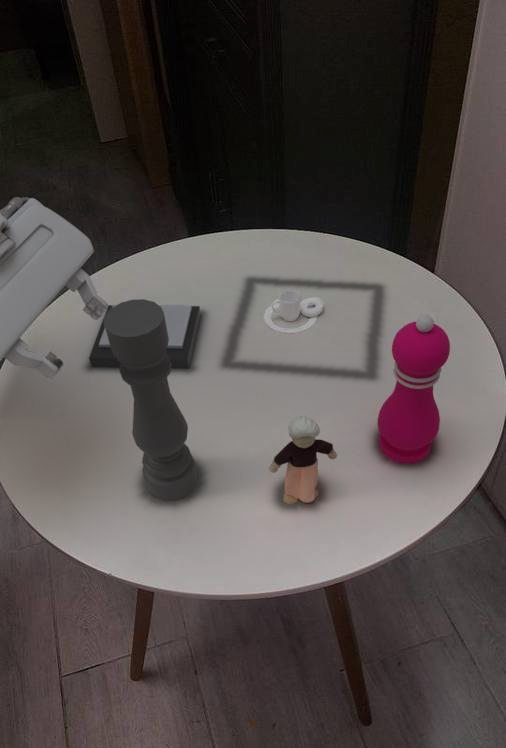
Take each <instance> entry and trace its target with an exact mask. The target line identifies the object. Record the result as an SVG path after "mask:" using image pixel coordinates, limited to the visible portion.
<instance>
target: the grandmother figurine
mask: <svg viewBox="0 0 506 748" xmlns="http://www.w3.org/2000/svg"><path fill="white" fill-rule="evenodd" d="M287 428H288V435H289V437H290V438H291V441H290V442H288V443H287V444H286V445H285V446H284V447H283V448H282V449H281V450H280V451H279V452H278V453H277V454H276V455H275V456H274V458H273V459H272V462H271V464H270V465H269V467H268V471H269V472H270V473H272V474H275V473H277V472H278V470H279V469H280V468H281V466H283V465H284V464H286V465H287V466H286V469H285V475H284V476H285V477H284V488H283V489H284V493H283V499H282V500H283V502H284V503H285V504H288V505H294V504H295V503H297V502H298V500H299V501H300V502H302V503H307V504H309V503H312V502H315V498H317V497H318V496H319V491H318V489H317V488H316V487H317V484H318V475H319V463H318V462H319V459H318V455H317V454H318V453H319V454H321V455H327V458H328V459H330V460H335V459H336V458H337V457H338V453H337V452H336V451H335V449H334V445H333V443H332V442H329V441H326V440H324V439H320V438H319V439H317V438H316V437H318V436H319V434H320V432H321V428H320V426H319V425H318V423H317V422H316V421H315V420H314V419H312V418H310V417H308V416H305V415H301V416H298V417H294V418H292V420H291V421H290V423H289V424H288V427H287Z"/></svg>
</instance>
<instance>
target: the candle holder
mask: <svg viewBox="0 0 506 748" xmlns="http://www.w3.org/2000/svg"><path fill="white" fill-rule="evenodd" d="M115 305H116V306H114V307H113V308H111V309H110V310H109V312H108V313H107V314H106V315H105V314H104V316H105V319H104V318H103V319H104V326H105V329H106V333H107V336H108V340H109V344H110V347H111V350H112V353H113V355H114V356H115V357H117V360H118V361H120V362H121V365H120V367H119V374H120V376H121V380H122V381H124V382H125V383H126V384H127V385H129V386H130V390H131V393H132V397H133V412H132V413H133V415H132V428H131V429H132V431H131V432H132V433H131V434H132V437H133V440H134V444H135V446H137V448H138V449H139V450H141V452H143V455H142V460H141V462H142V463H141V464H142V471H141V472H142V474H143V479H144V481H145V484H146V488H147V490H148V494H150V495H151V496H153V497H154V499H157V500H159V501H163V502H176V501H179V500H181V499H184V498H186V497H187V496H189V495H190V494H192V492H193V491H194V490H195V488H196V486H197V484H198V473H197V468H196V462H195V460H194V457H193V455H192V453H191V451H190V448H189V446H188V445H187V444H185V442H186V441H187V438H188V431H189V427H188V423H187V421H186V418H185V416H184V415H183V413H182V410H181V409H180V407H179V406H178V403H177V402H176V400H175V398H174V397H173V395H172V393H171V390H170V389H171V388H170V385H169V381H168V376H170V374H171V370H172V368H171V361H170V359H169V357H168V356H167V355H166V350H167V347H168V342H169V337H168V332H167V326H166V321H165V316H164V312H163V310H162V308H161V306H159V305H160V304H158V303H156V302H155V301H153V300H148V299H144V298H143V299H141V298H139V299H129V300H126V301H122V302H120V303H118V304H115Z"/></svg>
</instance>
